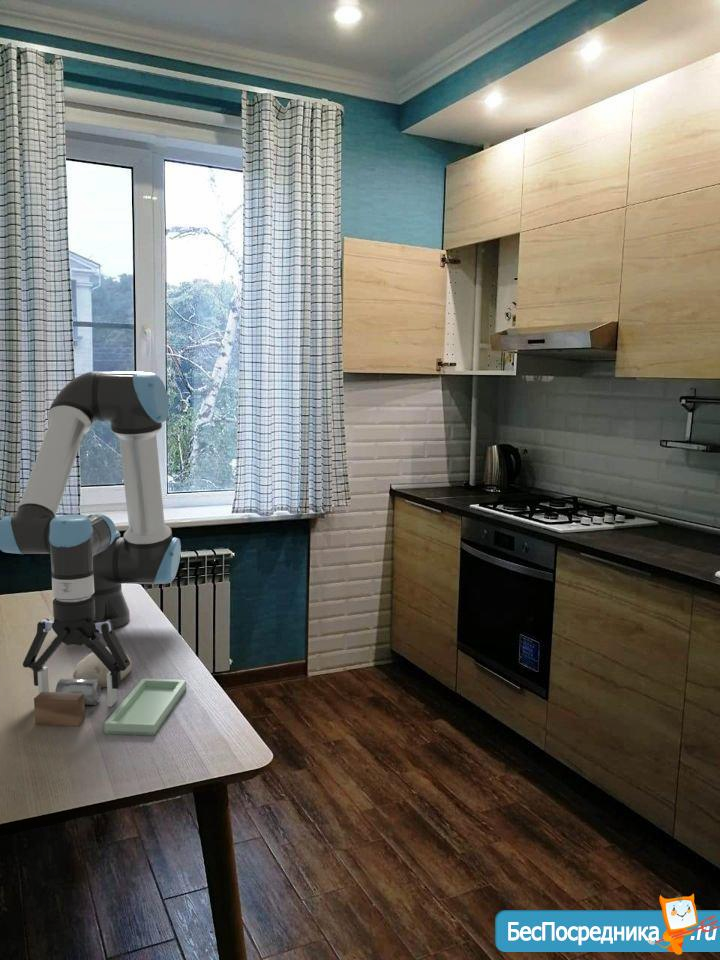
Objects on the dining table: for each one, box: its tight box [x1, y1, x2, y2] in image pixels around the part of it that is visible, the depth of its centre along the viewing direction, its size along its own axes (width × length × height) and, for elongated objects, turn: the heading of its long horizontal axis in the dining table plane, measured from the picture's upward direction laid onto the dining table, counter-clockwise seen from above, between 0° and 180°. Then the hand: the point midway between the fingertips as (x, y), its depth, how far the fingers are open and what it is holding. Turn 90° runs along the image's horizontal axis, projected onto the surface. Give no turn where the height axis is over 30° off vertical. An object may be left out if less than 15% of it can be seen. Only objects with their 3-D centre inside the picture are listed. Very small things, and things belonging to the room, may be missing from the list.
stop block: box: [33, 691, 86, 727], centre depth 142 cm, size 3×8×5 cm, turn 87°
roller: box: [54, 677, 102, 706], centre depth 150 cm, size 5×7×5 cm
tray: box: [103, 678, 187, 737], centre depth 147 cm, size 20×9×2 cm, turn 176°
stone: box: [72, 646, 133, 689], centre depth 162 cm, size 13×10×8 cm
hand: (78, 702), depth 150 cm, fingers open, 13 cm apart
